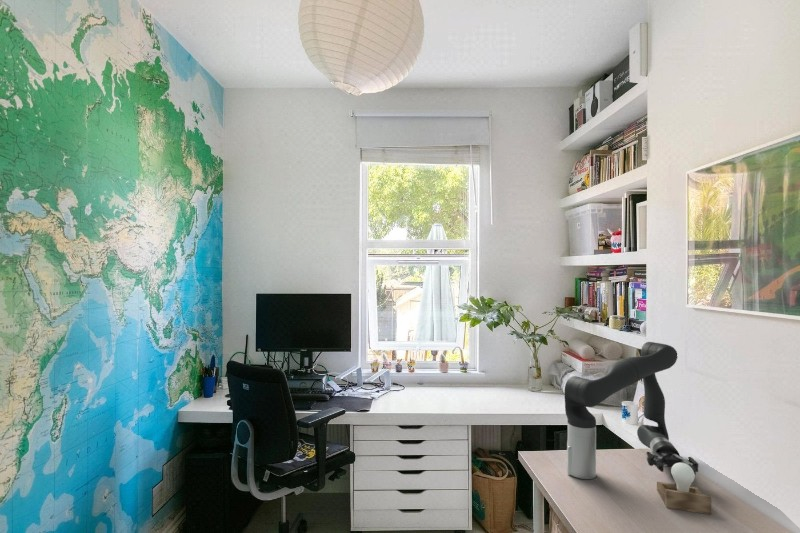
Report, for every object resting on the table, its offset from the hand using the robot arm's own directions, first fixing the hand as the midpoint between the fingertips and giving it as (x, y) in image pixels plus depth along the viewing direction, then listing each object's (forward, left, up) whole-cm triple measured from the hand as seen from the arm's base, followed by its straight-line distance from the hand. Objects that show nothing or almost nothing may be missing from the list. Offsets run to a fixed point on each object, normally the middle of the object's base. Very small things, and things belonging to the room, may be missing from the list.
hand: (677, 470), depth 138 cm
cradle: (0, -5, -7) cm, 9 cm away
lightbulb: (0, -5, -7) cm, 8 cm away
